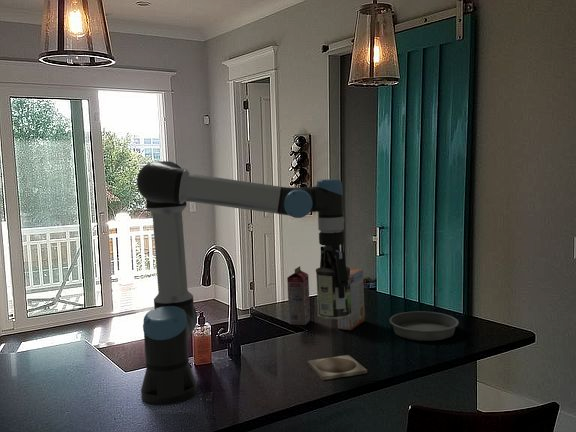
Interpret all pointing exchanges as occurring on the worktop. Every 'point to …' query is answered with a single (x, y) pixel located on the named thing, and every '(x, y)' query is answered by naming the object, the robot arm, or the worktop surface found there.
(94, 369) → the worktop surface
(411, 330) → the cake pan
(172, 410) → the worktop surface
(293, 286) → the juice carton
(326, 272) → the coffee can
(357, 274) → the cracker box
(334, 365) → the rest board
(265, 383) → the worktop surface
